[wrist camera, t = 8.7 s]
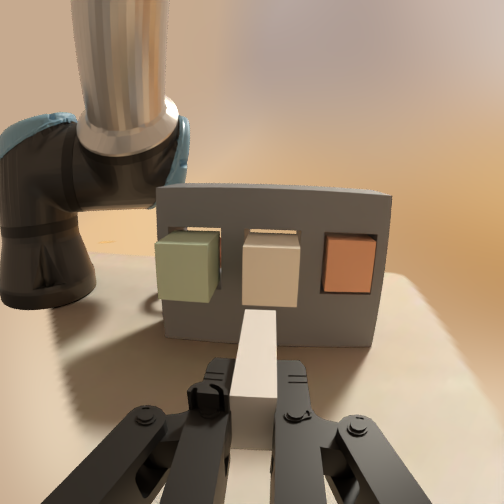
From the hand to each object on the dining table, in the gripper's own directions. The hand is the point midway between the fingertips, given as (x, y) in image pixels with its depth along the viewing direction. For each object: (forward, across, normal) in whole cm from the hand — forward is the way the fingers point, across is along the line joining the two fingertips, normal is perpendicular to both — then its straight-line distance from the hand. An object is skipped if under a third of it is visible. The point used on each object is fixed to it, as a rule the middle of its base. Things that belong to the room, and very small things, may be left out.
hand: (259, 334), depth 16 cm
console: (+15, +1, -8) cm, 16 cm away
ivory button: (+10, +1, -2) cm, 10 cm away
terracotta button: (+13, +7, -2) cm, 15 cm away
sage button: (+10, -6, -2) cm, 12 cm away
